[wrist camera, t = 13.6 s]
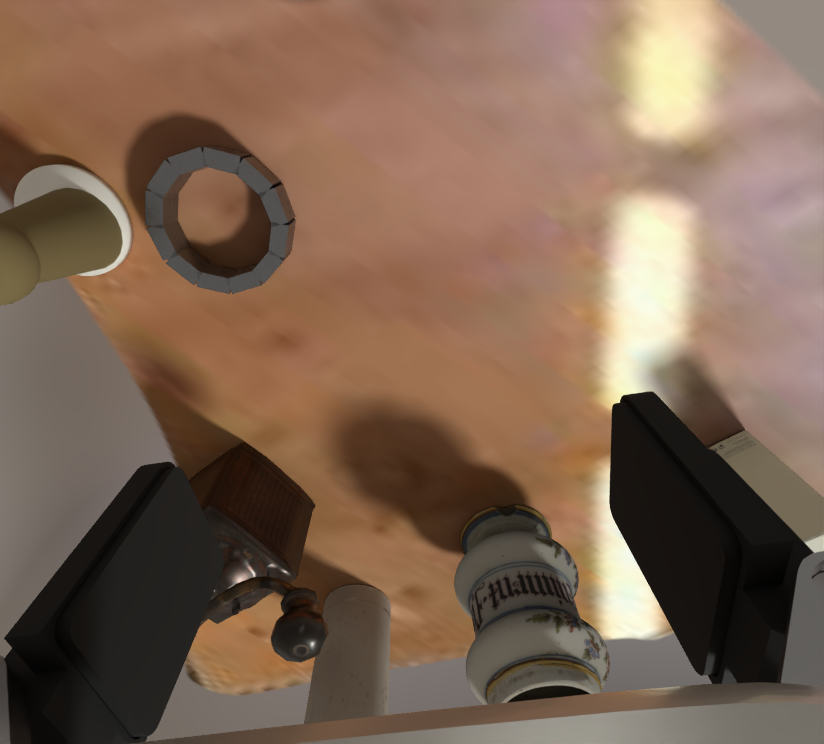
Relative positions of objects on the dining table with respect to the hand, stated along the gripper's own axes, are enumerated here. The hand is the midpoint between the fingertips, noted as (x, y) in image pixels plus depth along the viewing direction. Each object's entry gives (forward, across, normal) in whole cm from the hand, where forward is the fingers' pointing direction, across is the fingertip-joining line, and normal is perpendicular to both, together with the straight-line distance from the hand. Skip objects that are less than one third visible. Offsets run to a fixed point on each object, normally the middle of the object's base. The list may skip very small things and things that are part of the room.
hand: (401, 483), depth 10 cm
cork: (+29, +24, -4) cm, 38 cm away
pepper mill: (+30, +18, +23) cm, 42 cm away
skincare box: (+30, -29, +28) cm, 50 cm away
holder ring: (+30, +13, -3) cm, 33 cm away
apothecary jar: (+30, -5, +34) cm, 46 cm away
